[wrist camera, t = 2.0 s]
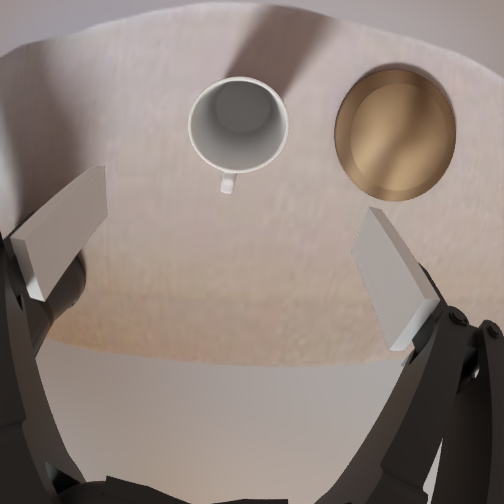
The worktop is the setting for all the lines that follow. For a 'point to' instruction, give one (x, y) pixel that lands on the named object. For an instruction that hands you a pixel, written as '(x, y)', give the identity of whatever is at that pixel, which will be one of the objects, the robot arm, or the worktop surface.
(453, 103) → the worktop surface
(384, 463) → the robot arm
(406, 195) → the disc
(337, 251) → the worktop surface
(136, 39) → the worktop surface
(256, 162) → the mug
